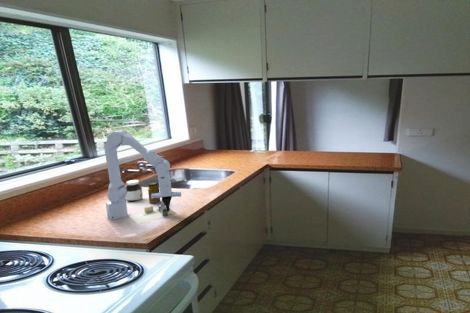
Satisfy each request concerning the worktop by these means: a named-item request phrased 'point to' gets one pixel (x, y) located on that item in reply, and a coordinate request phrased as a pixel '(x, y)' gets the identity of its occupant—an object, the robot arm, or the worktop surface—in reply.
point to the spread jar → (133, 191)
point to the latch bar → (163, 210)
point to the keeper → (148, 209)
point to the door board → (150, 216)
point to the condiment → (153, 192)
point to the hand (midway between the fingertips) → (168, 211)
